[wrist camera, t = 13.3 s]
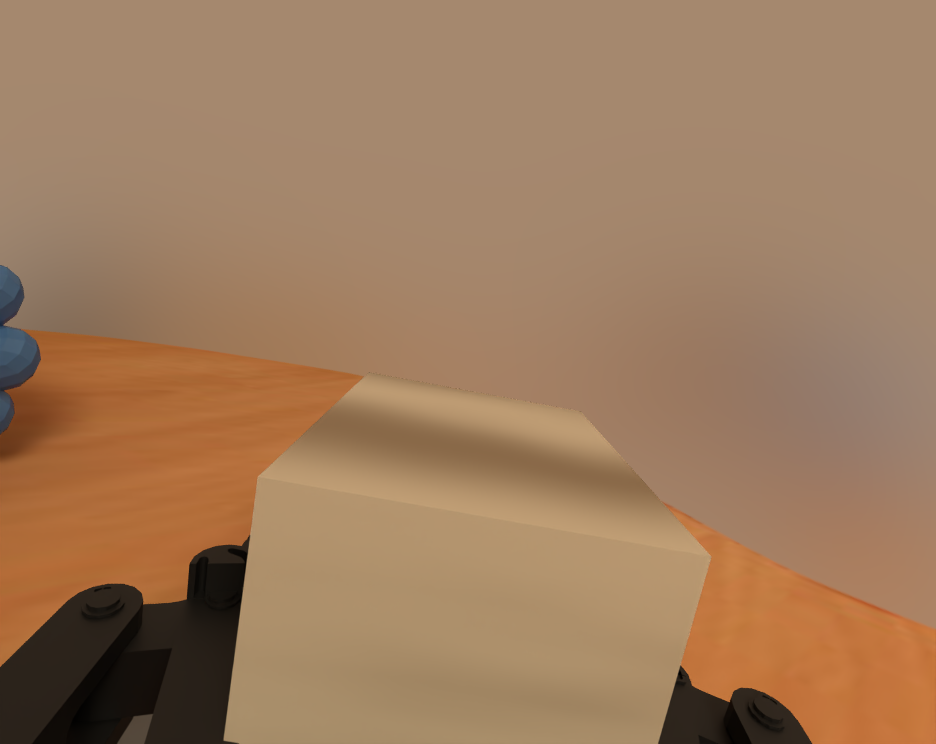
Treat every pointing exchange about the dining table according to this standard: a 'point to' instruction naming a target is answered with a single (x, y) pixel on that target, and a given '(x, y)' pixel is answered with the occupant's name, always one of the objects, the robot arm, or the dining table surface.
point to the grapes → (13, 345)
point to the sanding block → (458, 580)
